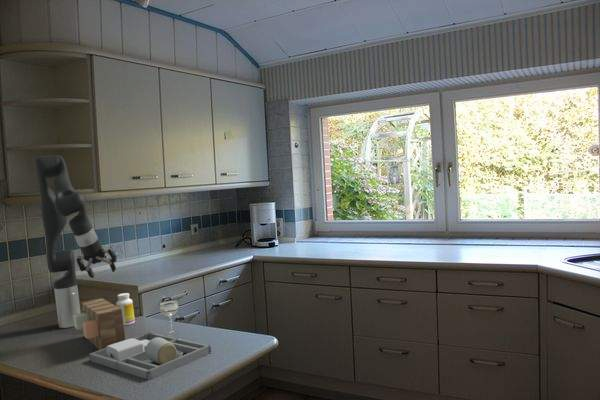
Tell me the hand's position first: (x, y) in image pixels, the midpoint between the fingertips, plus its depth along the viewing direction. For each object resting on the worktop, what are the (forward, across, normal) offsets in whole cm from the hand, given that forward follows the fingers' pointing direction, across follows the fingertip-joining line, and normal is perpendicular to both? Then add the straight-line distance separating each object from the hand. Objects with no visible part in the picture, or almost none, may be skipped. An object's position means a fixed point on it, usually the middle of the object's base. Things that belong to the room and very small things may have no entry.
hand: (103, 273), depth 205 cm
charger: (+12, -12, +40) cm, 44 cm away
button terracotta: (+8, +3, +28) cm, 29 cm away
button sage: (+12, +10, +15) cm, 22 cm away
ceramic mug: (+9, -25, +52) cm, 59 cm away
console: (+16, +3, +22) cm, 27 cm away
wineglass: (+21, -22, +24) cm, 39 cm away
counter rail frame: (+10, -18, +46) cm, 51 cm away
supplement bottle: (+26, 0, +1) cm, 26 cm away
